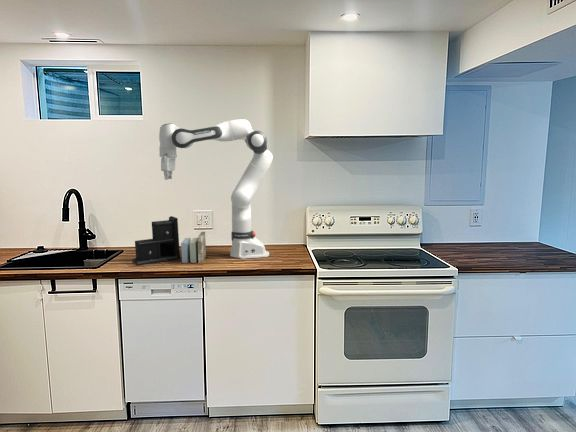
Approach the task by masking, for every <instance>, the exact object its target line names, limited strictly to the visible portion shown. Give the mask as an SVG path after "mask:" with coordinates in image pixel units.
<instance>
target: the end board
mask: <svg viewBox="0 0 576 432" xmlns="http://www.w3.org/2000/svg"><path fill="white" fill-rule="evenodd" d="M197 238H198V260H197V262H198V264H203V263H204V261H205V258H206V257H207V247H206V231H201V232H200V233H199V234H198V236H197Z"/></svg>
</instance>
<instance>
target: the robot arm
mask: <svg viewBox="0 0 576 432" xmlns="http://www.w3.org/2000/svg"><path fill="white" fill-rule="evenodd" d="M158 135H159V136H158V138H159V140H158V141H159V147H158V149H159V158H161V159H160V170H161V172H163V175H164V177H163V178H164V180H165V181H168V180H172V177H173V172H174V171H175V170H176V162H177V161H176V158H177V156H178V155H177V148H178V149H188V148H190V147H192V145H193V144H194V143H198V142H203V141H204V142H205V141H217V142H233V141H238V140H244V142H245V144H246V146H247V147H248V148H249V149H250V150H251V151H253V154H252V155H253V156H252V158H251V160H250V162H249V163H248V164H247V167H246V168H245V170H244V172H243V174H242V176H241V177H240V179H239V180H238V183H237V184H236V186H235V188H234V189H233V191H232V192H231V196H230V201H231V235H230V236H231V237H230V238H231V248H230V254H229V256H230V257H231V258H237V259H241V260H242V259H245V260H247V259H256V258H257V259H258V258H267V257H269V256H270V252H269V251H268V250H266V247H265V244H264V243H263V241H261V240H259V239H258V238H257V237H256V236H257V233H256V232H255V230H252V199H253V198H254V197H255V194H256V192H257V191H258V189H259V187H260V185H261V183H262V181H263V180H264V178H265V176H266V175H267V173H268V171H269V169H270V167H271V165H272V162H273V158H274V157H273V154H272V153H271V151H270V150H268V140H267V139H268V138H267V135H266V134H265V133H264V132H263V131H261V130H254V129H252V124H251V123H250V121H249V120H247V119H243V118H240V119H230V120H226V121H221V122H219V123H217V124H214V125H212V126H208V127H204V128H197V129H186V128H181V127H179V126H177V125H176V124H174V123H164V124H162V125H161V126H160V128H159V134H158Z"/></svg>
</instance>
